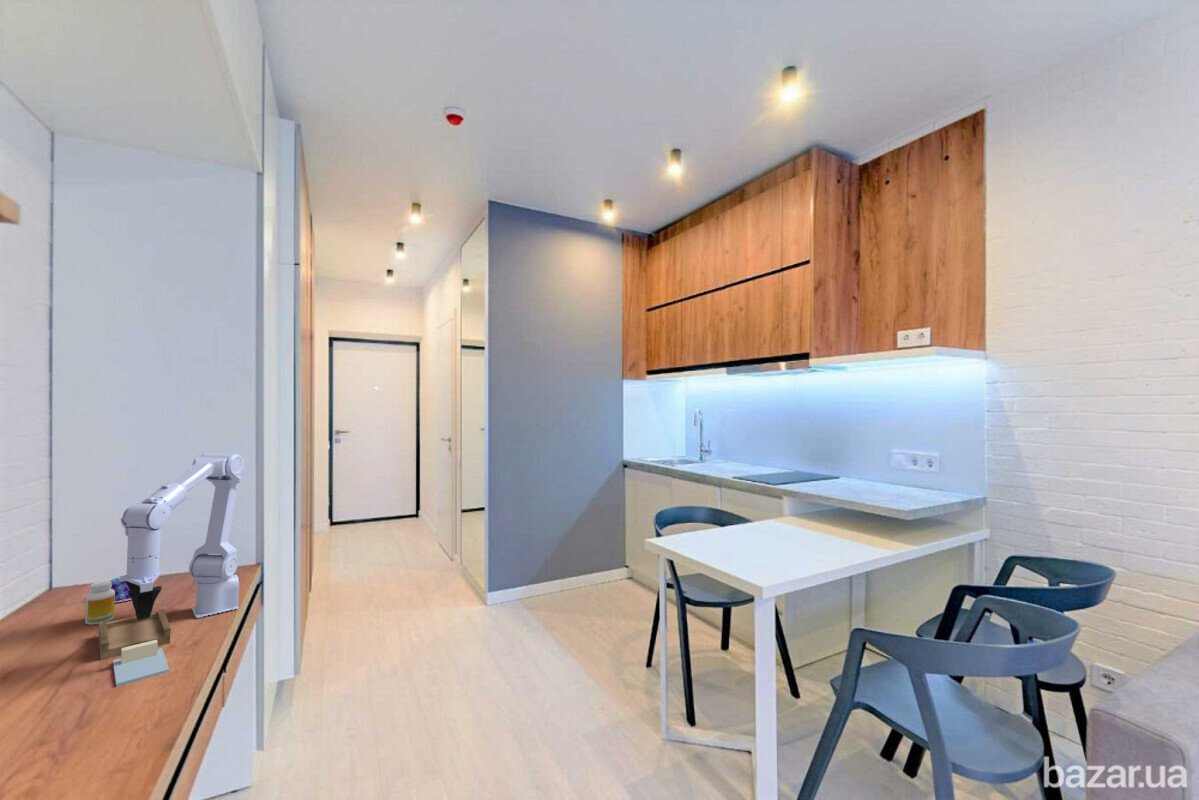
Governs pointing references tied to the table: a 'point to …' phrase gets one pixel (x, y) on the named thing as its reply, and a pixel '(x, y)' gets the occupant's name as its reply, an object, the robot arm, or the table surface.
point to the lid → (139, 663)
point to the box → (132, 633)
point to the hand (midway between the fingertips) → (141, 612)
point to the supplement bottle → (100, 603)
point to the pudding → (120, 590)
